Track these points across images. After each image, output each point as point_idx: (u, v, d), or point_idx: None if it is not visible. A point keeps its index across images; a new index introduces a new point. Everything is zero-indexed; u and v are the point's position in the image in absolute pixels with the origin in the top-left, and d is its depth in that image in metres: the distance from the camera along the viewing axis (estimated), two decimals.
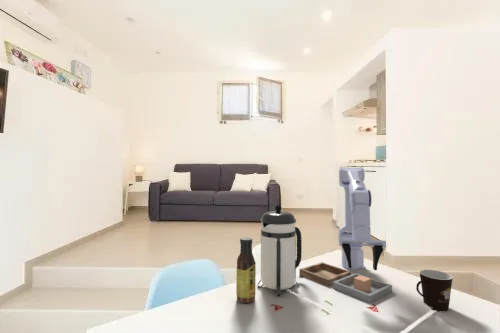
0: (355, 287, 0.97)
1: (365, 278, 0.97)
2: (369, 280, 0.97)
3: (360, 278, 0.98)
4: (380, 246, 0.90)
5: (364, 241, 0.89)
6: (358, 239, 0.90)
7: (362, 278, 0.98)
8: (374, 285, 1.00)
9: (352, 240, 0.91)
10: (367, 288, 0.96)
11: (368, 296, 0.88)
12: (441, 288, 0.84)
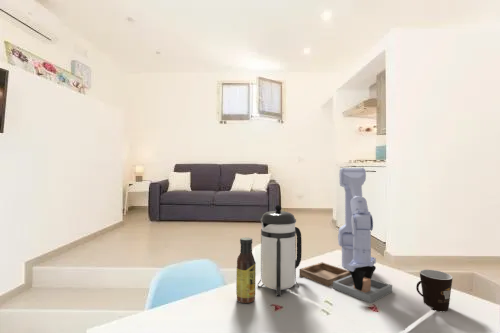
0: None
1: (365, 278, 0.97)
2: (369, 280, 0.97)
3: None
4: None
5: (373, 264, 0.95)
6: (367, 263, 0.95)
7: None
8: (374, 285, 1.00)
9: (362, 265, 0.94)
10: (367, 288, 0.96)
11: (368, 296, 0.88)
12: (441, 288, 0.84)
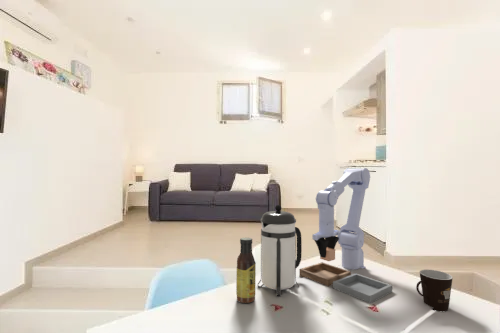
0: None
1: (330, 248, 1.09)
2: (334, 250, 1.09)
3: None
4: None
5: (335, 234, 1.07)
6: (329, 233, 1.07)
7: (328, 248, 1.09)
8: (374, 285, 1.00)
9: (325, 235, 1.06)
10: (332, 257, 1.08)
11: (368, 296, 0.88)
12: (441, 288, 0.84)
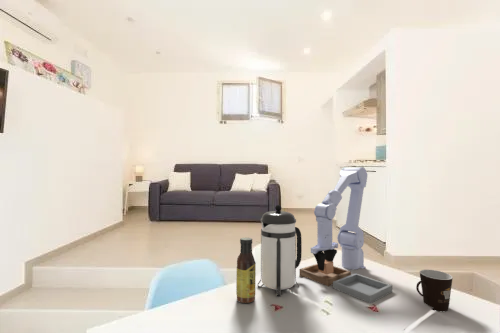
0: None
1: (328, 261, 1.10)
2: (332, 263, 1.09)
3: (325, 261, 1.10)
4: None
5: (333, 248, 1.07)
6: (328, 247, 1.08)
7: (326, 261, 1.10)
8: (374, 285, 1.00)
9: (324, 248, 1.07)
10: (330, 270, 1.08)
11: (368, 296, 0.88)
12: (441, 288, 0.84)
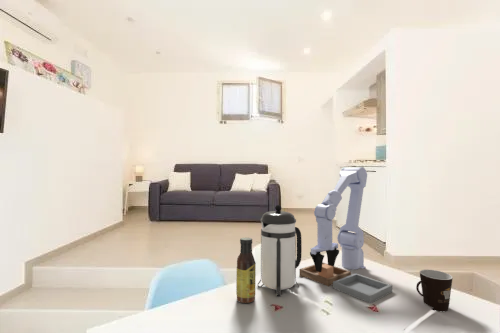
0: (320, 274, 1.10)
1: (328, 266, 1.10)
2: (332, 267, 1.09)
3: (324, 265, 1.10)
4: (335, 248, 1.13)
5: (333, 248, 1.07)
6: (328, 247, 1.08)
7: (326, 266, 1.10)
8: (374, 285, 1.00)
9: (324, 249, 1.07)
10: (330, 274, 1.08)
11: (368, 296, 0.88)
12: (441, 288, 0.84)
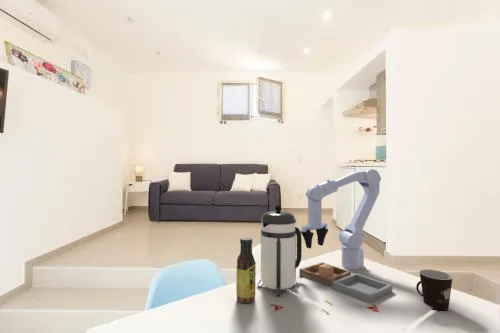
0: (320, 274, 1.10)
1: (328, 266, 1.10)
2: (332, 267, 1.09)
3: (324, 265, 1.10)
4: (324, 227, 1.22)
5: (322, 227, 1.17)
6: (317, 226, 1.17)
7: (326, 266, 1.10)
8: (374, 285, 1.00)
9: (313, 227, 1.16)
10: (330, 274, 1.08)
11: (368, 296, 0.88)
12: (441, 288, 0.84)
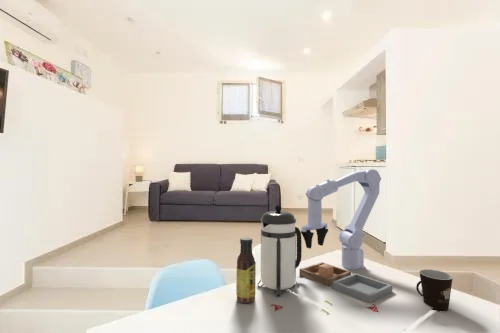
0: (320, 274, 1.10)
1: (328, 266, 1.10)
2: (332, 267, 1.09)
3: (324, 265, 1.10)
4: (324, 227, 1.22)
5: (322, 227, 1.17)
6: (317, 226, 1.17)
7: (326, 266, 1.10)
8: (374, 285, 1.00)
9: (313, 227, 1.16)
10: (330, 274, 1.08)
11: (368, 296, 0.88)
12: (441, 288, 0.84)
